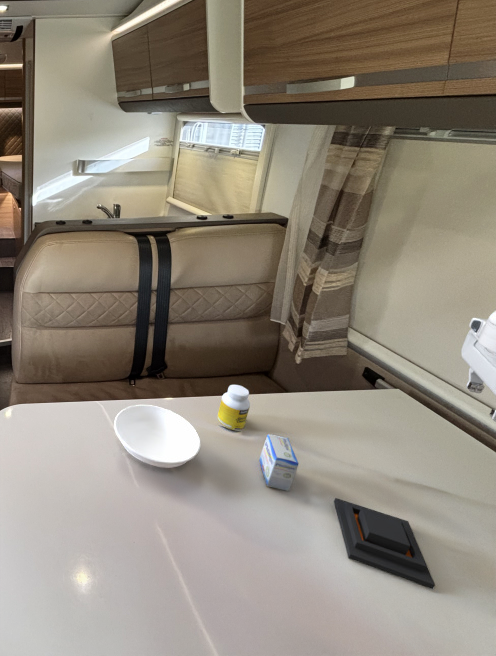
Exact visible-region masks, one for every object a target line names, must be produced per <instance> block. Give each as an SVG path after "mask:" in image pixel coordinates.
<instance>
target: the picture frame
mask: <svg viewBox="0 0 496 656" xmlns="http://www.w3.org/2000/svg"><path fill="white" fill-rule="evenodd" d="M333 504H334V507H335V511H336V515H337V520H338V523H339V527H340V531H341V536H342V539H343V543H344V546H345V550H346V554H347V558H348V559H350V560H352V561H355V562H358V563H361V564H363V565H366V566H368V567H370V568H374V569H377V570H380V571H382V572H384V573H387V574H390V575H392V576H395V577H398V578H401V579H403V580H406V581H409V582H411V583H414V584H417V585H420V586H423V587H425V588H428V589H430V590H434V588H435V586H436V583H435V582H434V579H433V577H432V574H431V571H430V569H429V567H428V564H427V562H426V559H425V558H424V554H423V553H422V551H421V550H422V549H421V547H420V545H419V543H418V541H417V539H416V536H415V534H414V532H413V529H412V527H411V525H410V522H409V520H406V519H403V518H400V517H397V516H393V515H391V514H388V513H385V512H381V511H378V510H375V509H372V508H370V507H369V508H368V507H365V506H363V505H359V504H356V503H354V502H350V501H347V500H344V499H340V498H338V497H335V498H334V499H333ZM361 508H364V509H367V510H370V511H373V512H376V513H379V514H383V515H386V516H389V517H392V518H395V519H398V520H400V521H401V524H402V526H403V529H404V531H405V534H406V536H407V539H408V541H409V544H410V548H409V550H408V552H407V554H406V555H403V554H400V553H397V552H394V551H392V550H389V549H386V548H383V547H380V546H377V545H374V544H372V543H369V542H366V541H364V539H363V536H362V533H361V529H360V526H359V523H358V519H357V517H358V515H359V513H360V510H361Z"/></svg>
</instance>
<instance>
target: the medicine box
mask: <svg viewBox="0 0 496 656" xmlns="http://www.w3.org/2000/svg"><path fill="white" fill-rule="evenodd" d="M258 462H259V465H260V468H261V471H262V474H263V478H264V480H265V484H266V486H267V487H270V488H274V489H277V490H282V491H285V492H289V491H290V489H291V486H292V484H293V481H294V478H295V475H296V472H297V469H298V468H299V461H298V459H297V457H296V453H295V451H294V449H293V446H292V444H291V441H290V439H289V437H284V436H281V435H275V434H270V433H268V434H267V435H266V438H265V441H264V444H263V447H262V449H261V453H260V456H259V459H258Z"/></svg>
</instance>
